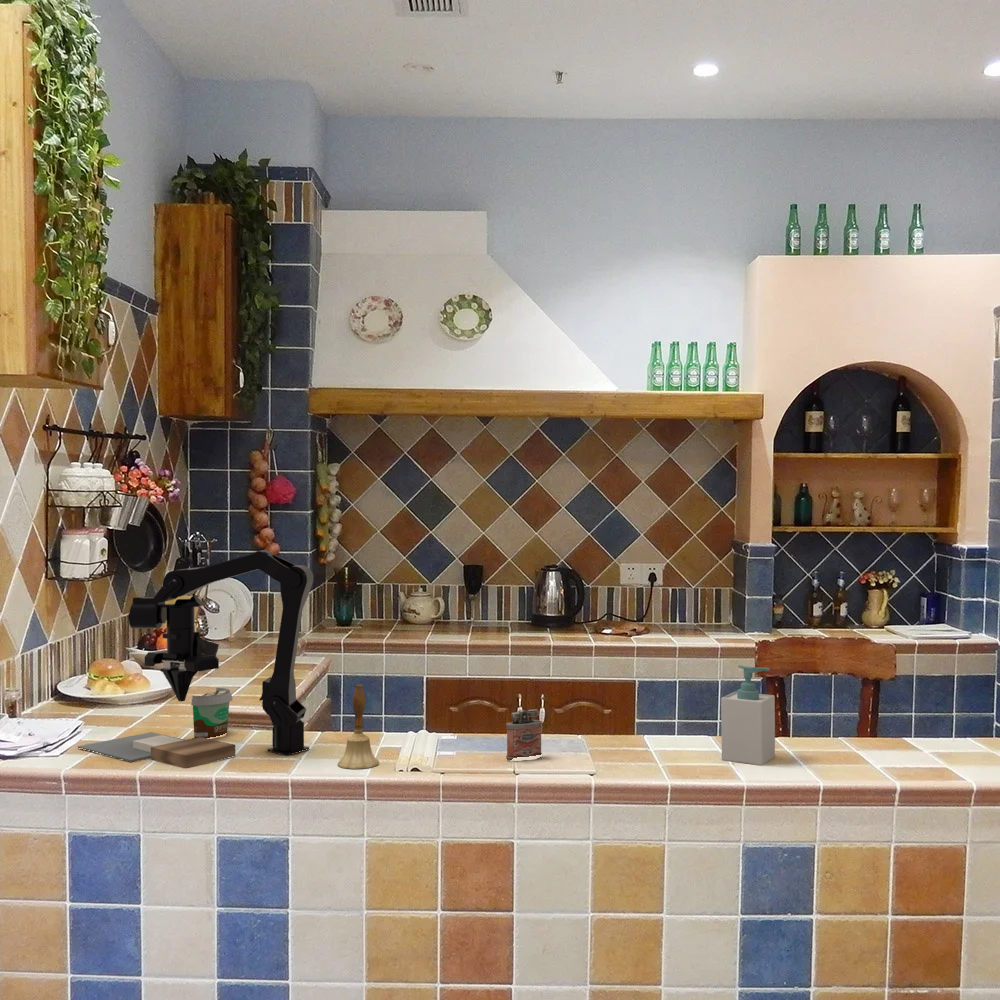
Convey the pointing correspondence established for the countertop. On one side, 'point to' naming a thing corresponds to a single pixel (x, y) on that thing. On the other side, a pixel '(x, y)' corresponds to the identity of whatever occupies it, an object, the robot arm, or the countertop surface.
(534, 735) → the lighter
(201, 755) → the wooden block
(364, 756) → the hand bell
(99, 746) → the mat
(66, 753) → the countertop surface
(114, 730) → the countertop surface
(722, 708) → the soap bottle
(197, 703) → the food container
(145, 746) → the tile
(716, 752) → the countertop surface
